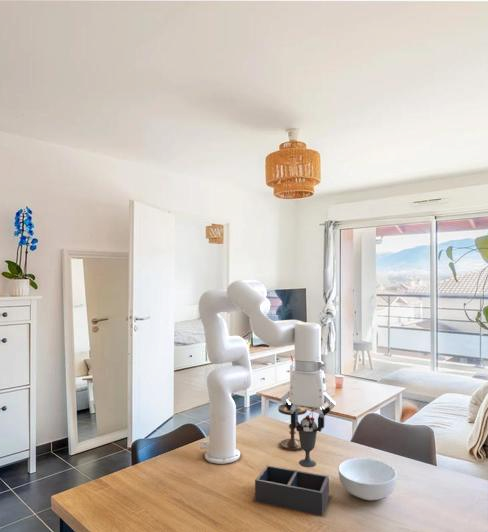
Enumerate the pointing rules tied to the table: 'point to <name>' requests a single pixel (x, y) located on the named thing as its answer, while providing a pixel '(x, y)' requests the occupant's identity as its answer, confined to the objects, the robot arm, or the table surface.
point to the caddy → (292, 489)
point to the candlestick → (291, 443)
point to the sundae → (307, 438)
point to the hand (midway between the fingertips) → (307, 427)
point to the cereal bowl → (367, 478)
